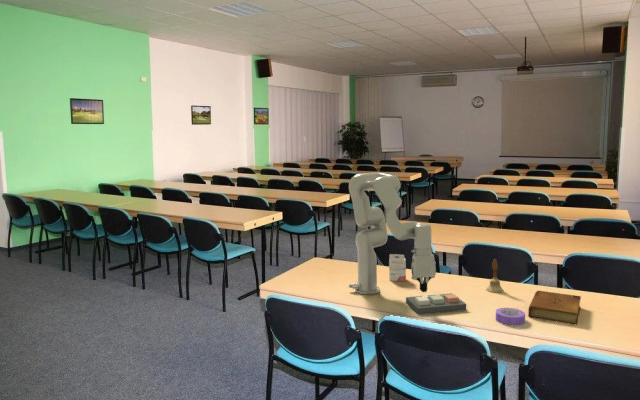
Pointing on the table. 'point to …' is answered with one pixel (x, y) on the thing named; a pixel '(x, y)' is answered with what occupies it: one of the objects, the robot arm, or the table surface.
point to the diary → (555, 307)
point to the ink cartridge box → (397, 268)
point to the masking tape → (510, 316)
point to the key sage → (436, 299)
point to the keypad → (435, 306)
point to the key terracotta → (451, 298)
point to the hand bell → (494, 280)
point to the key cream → (422, 301)
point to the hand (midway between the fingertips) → (423, 291)
